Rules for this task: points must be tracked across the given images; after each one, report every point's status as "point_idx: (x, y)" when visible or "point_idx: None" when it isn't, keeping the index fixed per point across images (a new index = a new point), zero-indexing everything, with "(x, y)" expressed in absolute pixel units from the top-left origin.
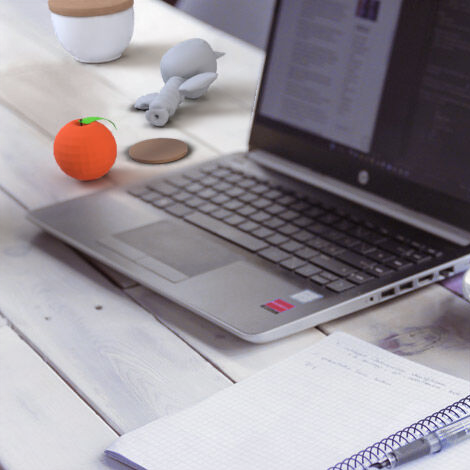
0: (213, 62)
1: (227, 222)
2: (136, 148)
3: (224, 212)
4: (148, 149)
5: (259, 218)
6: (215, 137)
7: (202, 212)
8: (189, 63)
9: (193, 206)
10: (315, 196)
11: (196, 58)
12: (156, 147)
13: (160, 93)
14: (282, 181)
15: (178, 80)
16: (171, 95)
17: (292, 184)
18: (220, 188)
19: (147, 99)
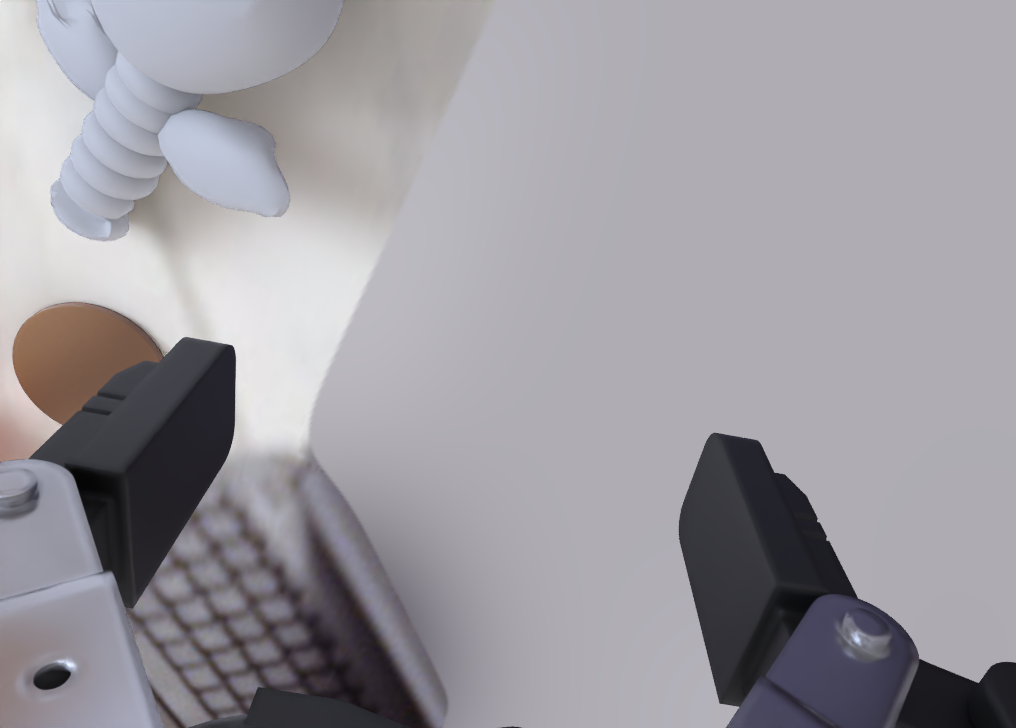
0: (309, 52)
1: (186, 679)
2: (32, 346)
3: (189, 653)
4: (63, 366)
5: (242, 689)
6: (254, 350)
7: (150, 639)
8: (189, 91)
9: (138, 616)
10: (363, 668)
11: (218, 83)
12: (85, 365)
13: (90, 149)
14: (329, 602)
15: (159, 95)
16: (129, 175)
17: (342, 619)
18: (202, 579)
19: (64, 66)
